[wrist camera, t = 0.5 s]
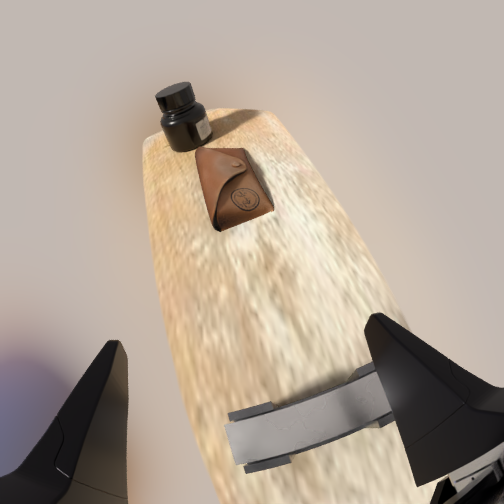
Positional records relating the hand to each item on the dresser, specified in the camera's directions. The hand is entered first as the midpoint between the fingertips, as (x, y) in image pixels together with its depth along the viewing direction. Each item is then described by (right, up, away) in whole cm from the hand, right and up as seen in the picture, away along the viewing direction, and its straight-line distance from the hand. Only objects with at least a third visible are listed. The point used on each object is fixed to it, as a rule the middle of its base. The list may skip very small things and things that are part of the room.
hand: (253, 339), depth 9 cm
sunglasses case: (-3, +13, +32) cm, 34 cm away
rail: (+5, -8, +7) cm, 12 cm away
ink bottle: (-12, +25, +42) cm, 51 cm away
